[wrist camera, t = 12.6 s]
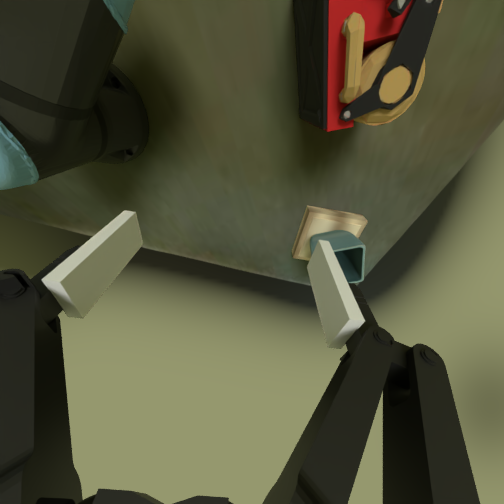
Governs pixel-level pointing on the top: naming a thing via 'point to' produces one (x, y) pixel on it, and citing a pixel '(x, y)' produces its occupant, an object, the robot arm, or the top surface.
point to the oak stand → (324, 227)
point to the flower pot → (344, 252)
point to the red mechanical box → (360, 58)
